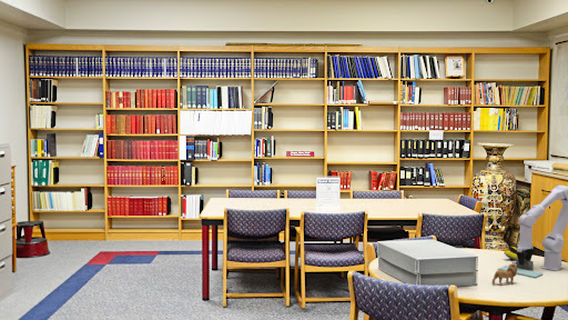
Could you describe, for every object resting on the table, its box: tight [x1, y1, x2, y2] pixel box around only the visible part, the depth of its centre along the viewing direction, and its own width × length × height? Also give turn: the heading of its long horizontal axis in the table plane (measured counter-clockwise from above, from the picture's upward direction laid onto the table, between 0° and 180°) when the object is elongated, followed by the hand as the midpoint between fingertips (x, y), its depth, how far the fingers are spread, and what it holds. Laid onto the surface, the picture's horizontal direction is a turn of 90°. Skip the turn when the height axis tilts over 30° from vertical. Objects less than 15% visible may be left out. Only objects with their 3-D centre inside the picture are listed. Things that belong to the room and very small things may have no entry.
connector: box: [511, 259, 534, 271], centre depth 284 cm, size 4×10×4 cm, turn 43°
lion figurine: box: [491, 263, 517, 286], centre depth 257 cm, size 15×5×9 cm, turn 117°
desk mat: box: [497, 265, 544, 279], centre depth 277 cm, size 9×19×1 cm, turn 43°
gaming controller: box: [503, 246, 518, 261], centre depth 304 cm, size 15×6×10 cm
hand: (524, 263), depth 283 cm, fingers open, 7 cm apart
